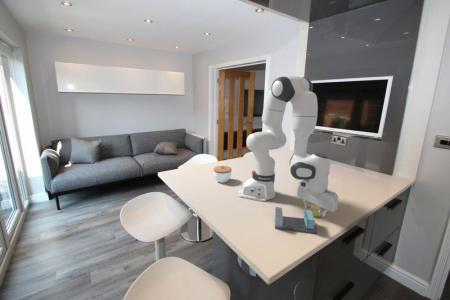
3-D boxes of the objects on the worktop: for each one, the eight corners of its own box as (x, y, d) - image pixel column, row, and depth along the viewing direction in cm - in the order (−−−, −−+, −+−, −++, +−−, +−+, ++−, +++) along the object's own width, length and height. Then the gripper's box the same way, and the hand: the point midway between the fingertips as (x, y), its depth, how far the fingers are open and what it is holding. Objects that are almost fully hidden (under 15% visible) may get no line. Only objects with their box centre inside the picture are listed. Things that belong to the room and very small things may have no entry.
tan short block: (309, 216, 110) (310, 208, 109) (308, 212, 114) (309, 204, 113) (320, 217, 109) (321, 209, 108) (319, 213, 113) (320, 205, 112)
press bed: (275, 228, 99) (276, 216, 98) (274, 217, 108) (275, 207, 106) (316, 233, 96) (318, 221, 95) (312, 222, 105) (314, 211, 103)
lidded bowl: (229, 185, 147) (229, 169, 144) (211, 183, 149) (211, 168, 146) (232, 178, 158) (233, 163, 156) (215, 176, 161) (215, 162, 158)
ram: (306, 228, 97) (307, 219, 96) (303, 218, 105) (304, 209, 104) (313, 229, 96) (314, 220, 95) (310, 218, 104) (311, 210, 103)
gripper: (342, 192, 100) (338, 218, 104) (304, 178, 117) (301, 202, 120) (334, 195, 97) (330, 223, 100) (296, 181, 113) (294, 205, 116)
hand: (314, 211), depth 110 cm, fingers open, 8 cm apart
